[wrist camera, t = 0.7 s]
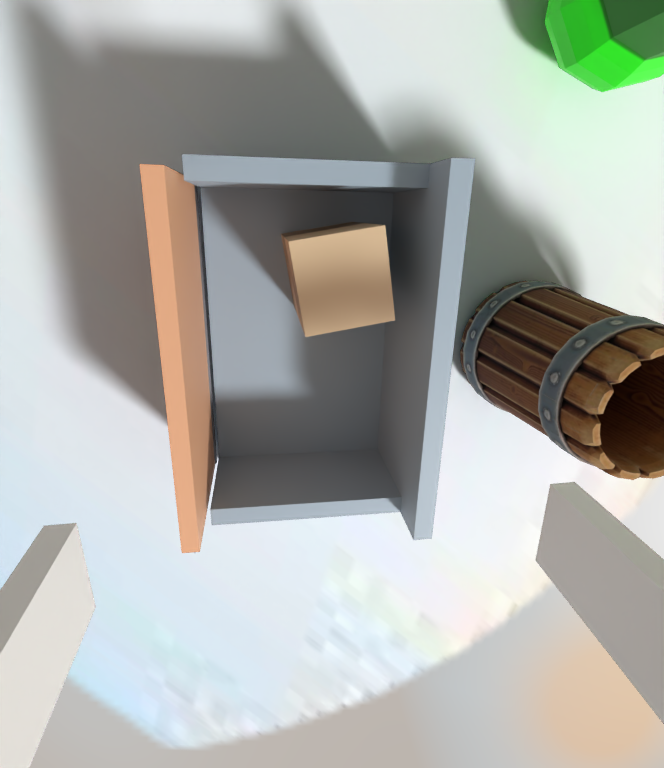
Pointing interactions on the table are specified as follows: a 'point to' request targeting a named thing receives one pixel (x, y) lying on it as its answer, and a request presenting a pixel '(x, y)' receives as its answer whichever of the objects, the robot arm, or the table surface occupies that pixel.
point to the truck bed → (330, 339)
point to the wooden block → (339, 276)
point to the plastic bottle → (608, 40)
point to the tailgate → (182, 341)
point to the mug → (573, 373)
